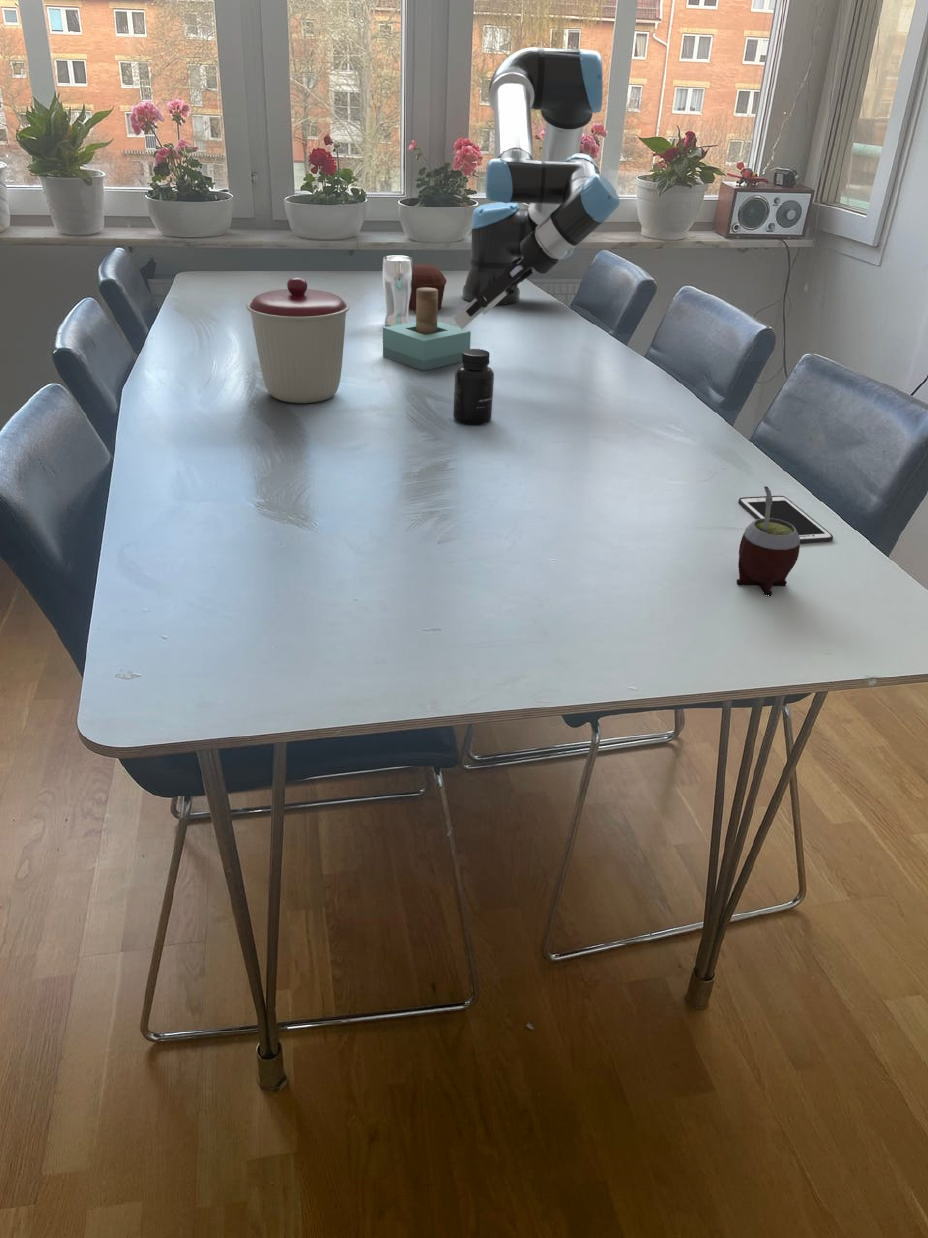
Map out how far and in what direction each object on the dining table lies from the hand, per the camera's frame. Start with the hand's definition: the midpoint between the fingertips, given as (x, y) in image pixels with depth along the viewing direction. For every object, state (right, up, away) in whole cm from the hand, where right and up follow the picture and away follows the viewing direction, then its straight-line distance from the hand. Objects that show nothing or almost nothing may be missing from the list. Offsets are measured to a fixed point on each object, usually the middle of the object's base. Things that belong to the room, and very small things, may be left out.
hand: (469, 316), depth 192 cm
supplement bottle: (0, -26, -24) cm, 36 cm away
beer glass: (-17, +8, +31) cm, 36 cm away
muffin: (-11, +17, +47) cm, 51 cm away
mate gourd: (+36, -58, -74) cm, 100 cm away
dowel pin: (-9, -5, +6) cm, 12 cm away
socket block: (-9, -6, +8) cm, 14 cm away
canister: (-31, -20, -16) cm, 41 cm away
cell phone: (+45, -48, -56) cm, 86 cm away
